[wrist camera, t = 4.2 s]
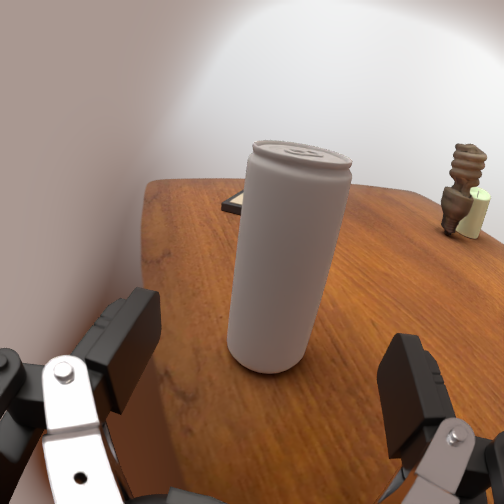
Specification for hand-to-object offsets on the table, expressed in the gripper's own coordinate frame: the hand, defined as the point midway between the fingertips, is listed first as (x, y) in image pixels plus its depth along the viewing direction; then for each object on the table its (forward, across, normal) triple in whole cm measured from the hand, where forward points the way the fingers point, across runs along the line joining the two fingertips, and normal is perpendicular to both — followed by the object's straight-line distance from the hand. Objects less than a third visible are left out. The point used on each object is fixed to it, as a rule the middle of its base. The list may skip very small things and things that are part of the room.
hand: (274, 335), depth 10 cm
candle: (+40, -32, +7) cm, 52 cm away
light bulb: (+36, -26, +7) cm, 46 cm away
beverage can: (+7, 0, +7) cm, 10 cm away
